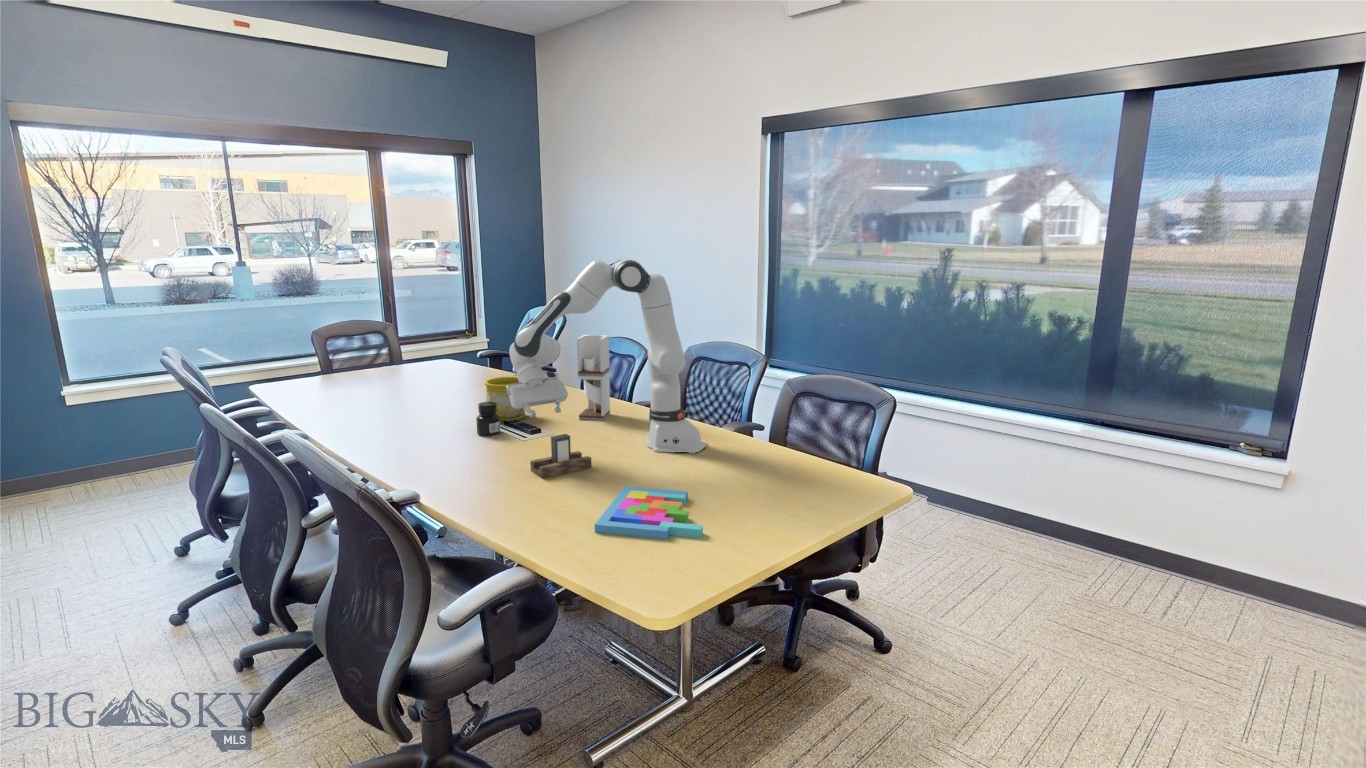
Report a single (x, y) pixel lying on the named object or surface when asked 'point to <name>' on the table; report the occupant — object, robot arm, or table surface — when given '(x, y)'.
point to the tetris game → (648, 514)
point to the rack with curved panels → (594, 375)
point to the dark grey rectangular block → (560, 448)
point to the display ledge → (560, 465)
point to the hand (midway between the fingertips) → (546, 413)
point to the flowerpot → (503, 398)
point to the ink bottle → (488, 419)
